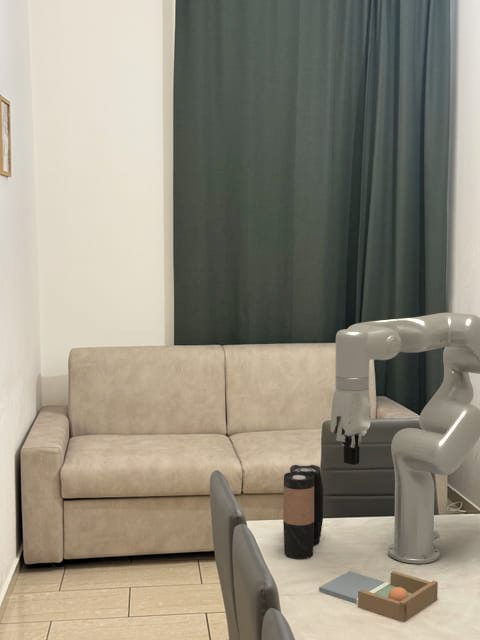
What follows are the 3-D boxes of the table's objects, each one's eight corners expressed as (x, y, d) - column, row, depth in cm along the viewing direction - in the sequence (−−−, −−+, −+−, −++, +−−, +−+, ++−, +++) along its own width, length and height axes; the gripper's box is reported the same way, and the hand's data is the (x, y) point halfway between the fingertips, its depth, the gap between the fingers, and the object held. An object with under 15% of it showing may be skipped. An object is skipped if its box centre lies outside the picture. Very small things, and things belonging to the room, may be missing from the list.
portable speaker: (280, 539, 222) (280, 466, 220) (310, 533, 226) (311, 461, 224) (298, 550, 214) (299, 474, 212) (329, 543, 219) (329, 469, 217)
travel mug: (305, 562, 206) (305, 481, 204) (277, 555, 210) (277, 476, 208) (319, 552, 213) (319, 474, 211) (292, 546, 217) (292, 469, 215)
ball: (394, 601, 183) (390, 582, 183) (414, 602, 181) (409, 583, 180) (387, 612, 180) (382, 593, 179) (407, 613, 177) (402, 594, 177)
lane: (352, 573, 199) (352, 557, 199) (437, 599, 185) (437, 581, 184) (315, 593, 188) (316, 575, 188) (403, 622, 174) (403, 603, 174)
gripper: (356, 377, 201) (355, 454, 202) (319, 386, 189) (319, 467, 191) (383, 381, 196) (383, 459, 197) (347, 390, 184) (347, 473, 186)
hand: (351, 463), depth 194 cm, fingers closed
